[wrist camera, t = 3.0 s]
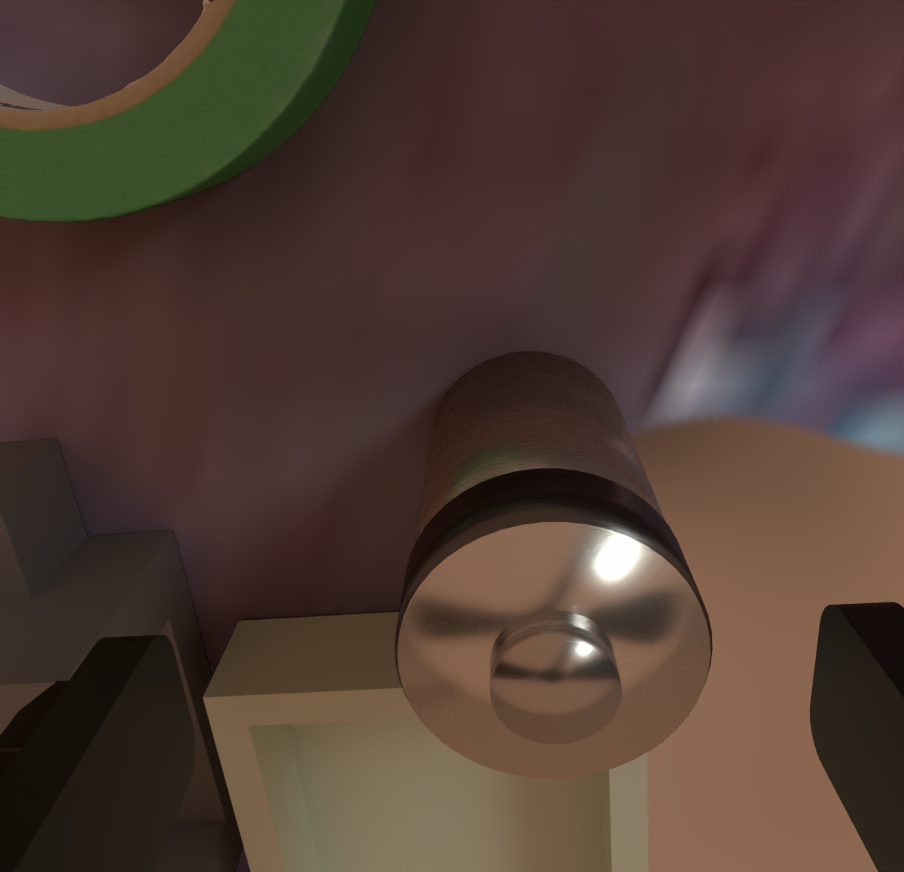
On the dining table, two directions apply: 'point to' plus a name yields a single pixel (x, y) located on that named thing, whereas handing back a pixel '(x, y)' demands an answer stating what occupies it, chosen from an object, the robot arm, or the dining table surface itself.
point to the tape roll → (179, 113)
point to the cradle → (102, 627)
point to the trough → (390, 769)
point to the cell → (545, 580)
